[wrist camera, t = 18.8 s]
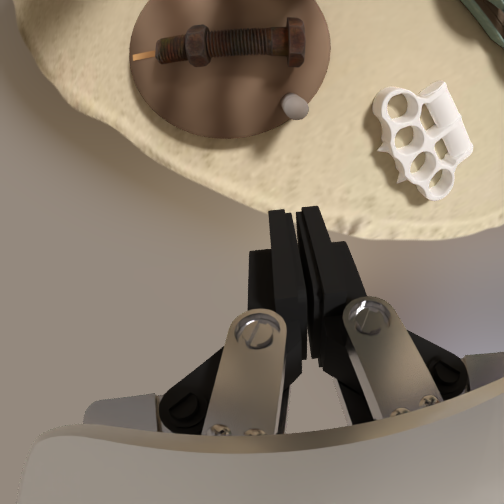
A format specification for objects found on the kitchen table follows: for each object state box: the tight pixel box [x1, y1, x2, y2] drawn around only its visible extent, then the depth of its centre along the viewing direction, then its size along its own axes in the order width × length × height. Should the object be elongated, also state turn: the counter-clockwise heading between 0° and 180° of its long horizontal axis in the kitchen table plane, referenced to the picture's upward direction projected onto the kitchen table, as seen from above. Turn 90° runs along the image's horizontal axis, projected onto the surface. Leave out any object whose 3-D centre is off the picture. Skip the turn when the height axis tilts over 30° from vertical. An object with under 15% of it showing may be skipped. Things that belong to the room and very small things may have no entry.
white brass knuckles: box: [372, 80, 473, 201], centre depth 32 cm, size 3×18×15 cm
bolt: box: [155, 17, 306, 68], centre depth 23 cm, size 6×5×15 cm
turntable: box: [130, 0, 331, 139], centre depth 24 cm, size 23×23×6 cm
